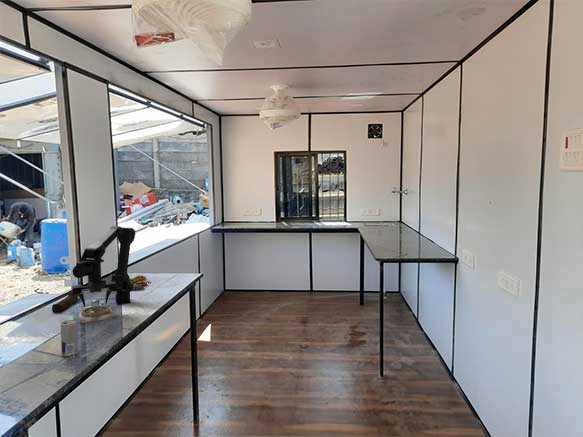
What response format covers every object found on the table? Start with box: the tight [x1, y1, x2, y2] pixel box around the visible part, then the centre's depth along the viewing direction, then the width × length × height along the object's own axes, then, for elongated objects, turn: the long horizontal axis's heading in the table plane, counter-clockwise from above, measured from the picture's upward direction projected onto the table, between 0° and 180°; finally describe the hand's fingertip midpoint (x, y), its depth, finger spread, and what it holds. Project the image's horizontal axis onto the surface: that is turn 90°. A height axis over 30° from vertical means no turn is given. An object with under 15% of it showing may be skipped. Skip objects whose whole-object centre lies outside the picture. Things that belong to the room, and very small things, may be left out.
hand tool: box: [51, 291, 79, 314], centre depth 197 cm, size 23×5×6 cm, turn 4°
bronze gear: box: [86, 299, 105, 313], centre depth 184 cm, size 8×8×6 cm
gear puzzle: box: [130, 275, 152, 292], centre depth 239 cm, size 31×16×4 cm, turn 7°
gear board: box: [77, 301, 115, 324], centre depth 185 cm, size 14×20×3 cm
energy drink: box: [60, 319, 79, 357], centre depth 143 cm, size 5×5×12 cm
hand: (95, 305), depth 184 cm, fingers open, 9 cm apart
